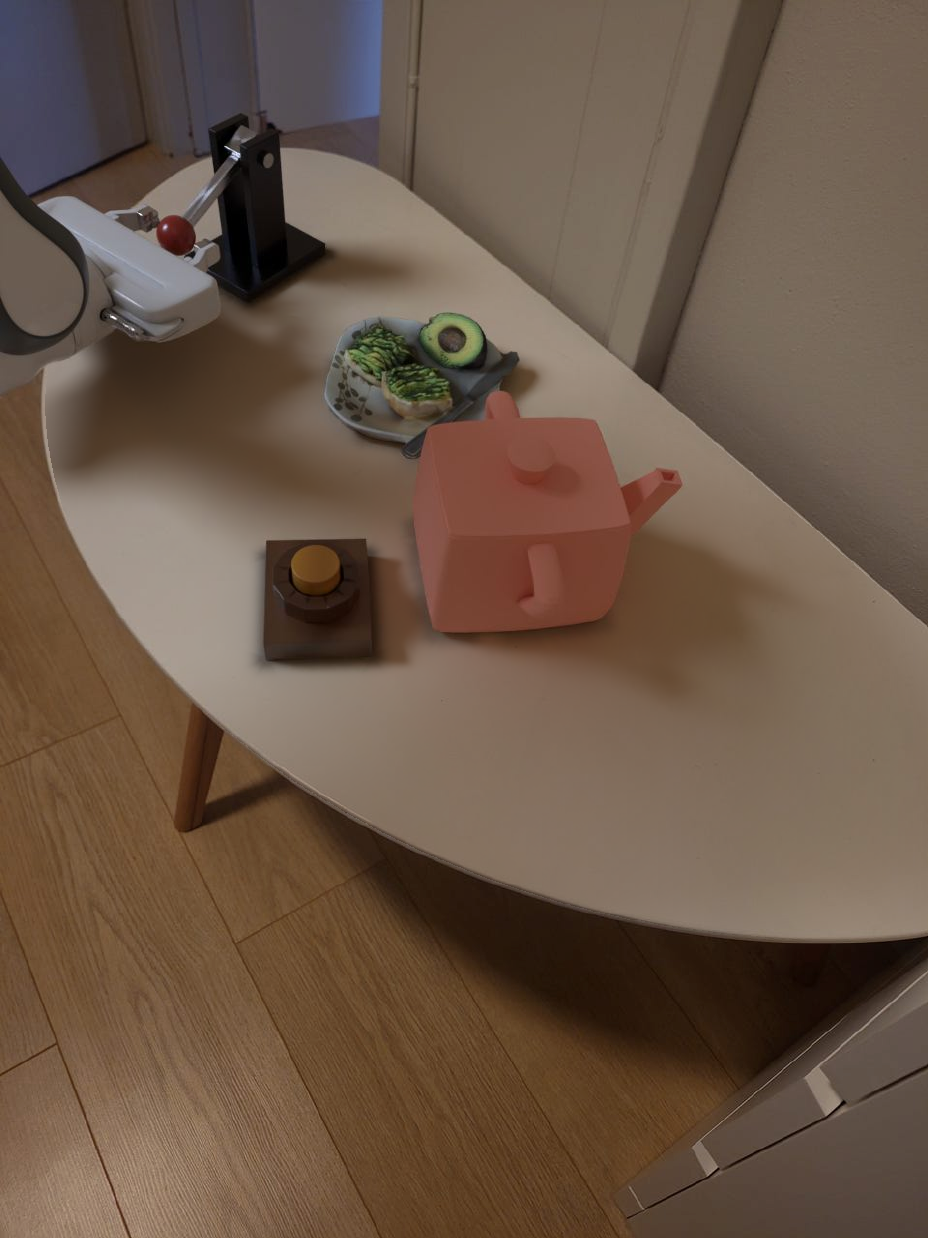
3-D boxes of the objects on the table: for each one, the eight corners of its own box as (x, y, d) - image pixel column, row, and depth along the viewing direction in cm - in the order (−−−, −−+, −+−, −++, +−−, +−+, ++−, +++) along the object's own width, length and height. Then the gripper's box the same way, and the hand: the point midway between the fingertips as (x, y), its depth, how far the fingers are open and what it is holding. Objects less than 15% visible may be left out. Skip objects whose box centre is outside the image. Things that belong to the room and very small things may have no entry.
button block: (265, 660, 69) (260, 630, 66) (268, 557, 75) (264, 525, 71) (371, 656, 70) (372, 626, 67) (366, 555, 76) (366, 523, 73)
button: (292, 597, 68) (291, 582, 67) (292, 559, 70) (291, 545, 69) (340, 595, 69) (340, 581, 67) (339, 558, 71) (339, 544, 69)
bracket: (248, 303, 93) (233, 172, 82) (185, 266, 96) (162, 134, 85) (326, 253, 100) (321, 125, 88) (264, 220, 102) (253, 91, 91)
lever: (186, 269, 88) (169, 245, 84) (160, 254, 89) (141, 229, 85) (274, 158, 89) (261, 130, 86) (247, 144, 90) (233, 116, 87)
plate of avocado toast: (497, 487, 82) (503, 449, 78) (301, 452, 82) (298, 413, 78) (521, 351, 93) (527, 313, 89) (349, 321, 93) (348, 282, 89)
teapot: (435, 693, 69) (450, 580, 57) (401, 480, 81) (408, 353, 70) (684, 671, 72) (744, 560, 61) (615, 470, 84) (654, 347, 73)
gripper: (142, 316, 74) (261, 245, 82) (-21, 215, 80) (103, 157, 87) (156, 377, 80) (267, 305, 87) (2, 278, 85) (117, 219, 92)
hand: (183, 230), depth 87 cm, fingers open, 7 cm apart
